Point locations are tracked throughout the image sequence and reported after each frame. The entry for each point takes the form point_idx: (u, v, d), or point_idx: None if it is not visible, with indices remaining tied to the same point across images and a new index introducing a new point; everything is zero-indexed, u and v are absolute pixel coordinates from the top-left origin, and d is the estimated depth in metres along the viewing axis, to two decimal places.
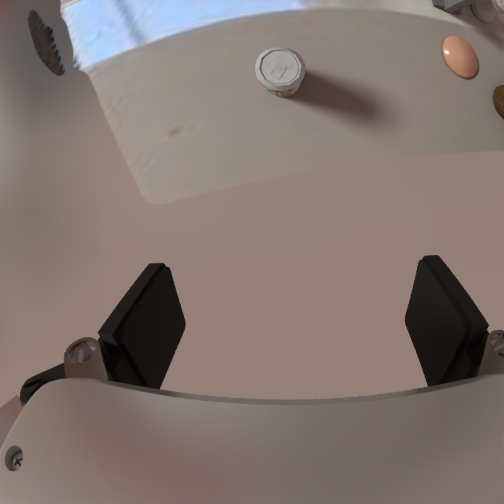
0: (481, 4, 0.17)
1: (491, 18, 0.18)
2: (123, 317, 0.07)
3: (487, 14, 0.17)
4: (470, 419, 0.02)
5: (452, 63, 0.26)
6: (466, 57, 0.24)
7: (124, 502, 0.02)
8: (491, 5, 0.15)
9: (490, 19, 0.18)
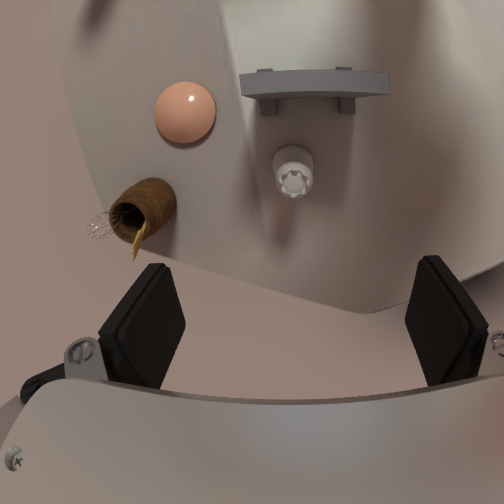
0: (294, 154, 0.26)
1: None
2: (123, 317, 0.07)
3: (278, 164, 0.27)
4: (470, 419, 0.02)
5: (166, 98, 0.26)
6: (185, 121, 0.27)
7: (124, 502, 0.02)
8: (288, 162, 0.24)
9: (275, 174, 0.28)
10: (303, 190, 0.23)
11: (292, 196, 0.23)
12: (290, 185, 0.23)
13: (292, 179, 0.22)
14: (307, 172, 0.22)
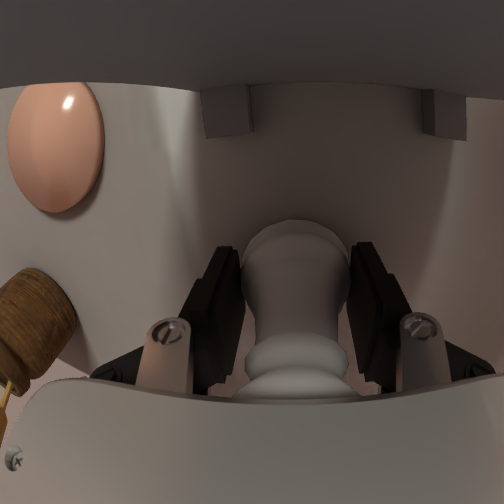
0: (301, 264, 0.09)
1: None
2: (211, 295, 0.08)
3: (253, 290, 0.09)
4: (470, 419, 0.02)
5: (18, 117, 0.09)
6: (49, 164, 0.10)
7: (124, 502, 0.02)
8: (281, 326, 0.07)
9: None
10: None
11: None
12: None
13: None
14: None
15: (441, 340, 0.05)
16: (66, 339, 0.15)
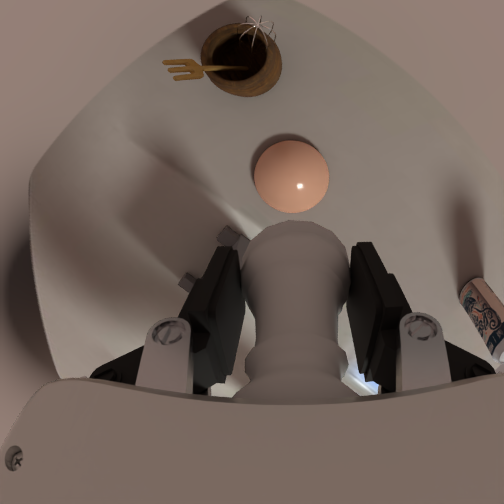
0: (301, 265, 0.09)
1: None
2: (211, 295, 0.08)
3: (253, 291, 0.10)
4: (470, 419, 0.02)
5: (320, 178, 0.25)
6: (282, 171, 0.25)
7: (124, 502, 0.02)
8: (281, 327, 0.07)
9: None
10: None
11: None
12: None
13: None
14: None
15: (441, 340, 0.05)
16: None
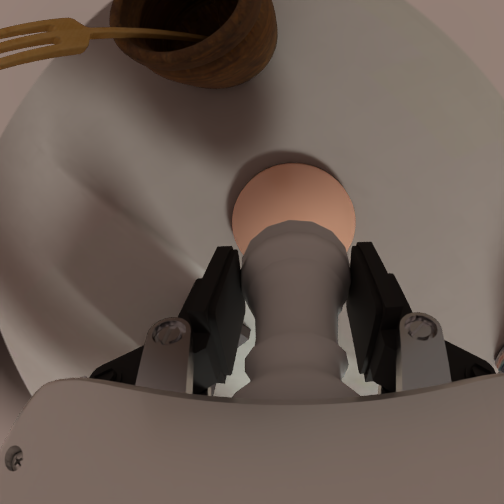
0: (301, 265, 0.09)
1: None
2: (211, 295, 0.08)
3: (253, 291, 0.10)
4: (470, 419, 0.02)
5: (341, 228, 0.15)
6: (278, 216, 0.16)
7: (124, 502, 0.02)
8: (281, 327, 0.07)
9: None
10: None
11: None
12: None
13: None
14: None
15: (441, 340, 0.05)
16: None
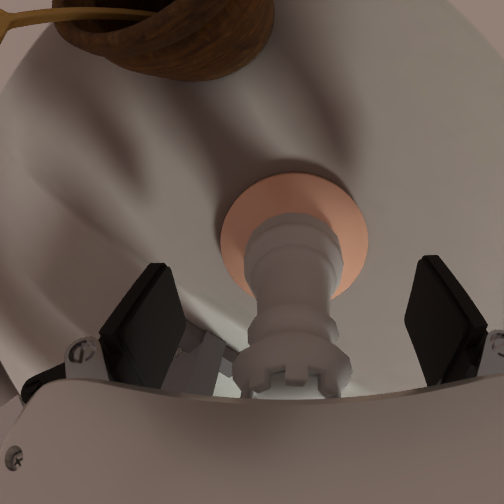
0: (297, 250, 0.10)
1: None
2: (123, 317, 0.07)
3: (255, 274, 0.11)
4: (470, 419, 0.02)
5: (351, 251, 0.13)
6: None
7: (124, 502, 0.02)
8: (279, 300, 0.08)
9: None
10: None
11: None
12: None
13: (285, 391, 0.06)
14: (337, 368, 0.06)
15: None
16: None
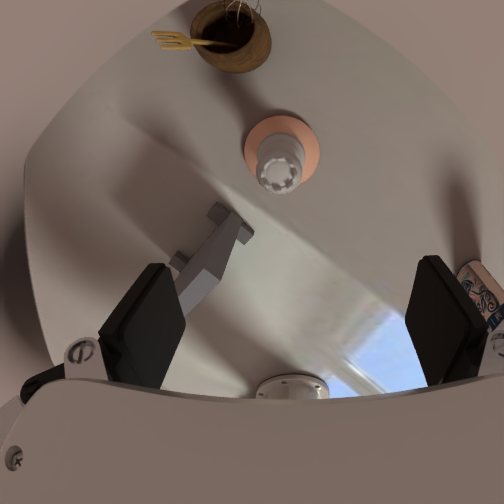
0: (281, 142, 0.22)
1: None
2: (123, 317, 0.07)
3: (263, 154, 0.23)
4: (470, 419, 0.02)
5: (311, 153, 0.25)
6: None
7: (124, 502, 0.02)
8: None
9: None
10: (290, 183, 0.19)
11: (276, 190, 0.19)
12: (274, 177, 0.19)
13: (276, 170, 0.18)
14: (294, 161, 0.18)
15: None
16: None
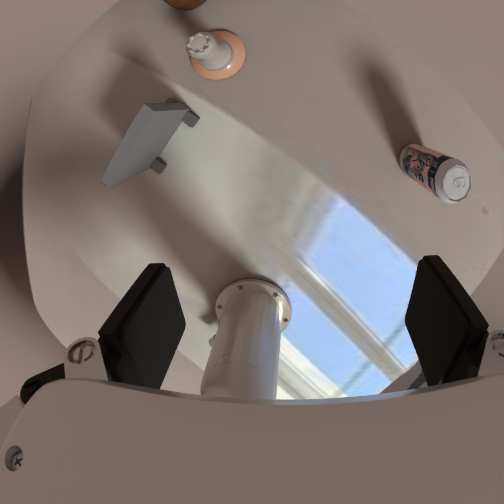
0: None
1: (200, 60, 0.27)
2: (123, 317, 0.07)
3: None
4: (470, 419, 0.02)
5: (239, 52, 0.28)
6: None
7: (124, 502, 0.02)
8: None
9: (199, 60, 0.28)
10: (206, 47, 0.22)
11: (197, 52, 0.22)
12: (196, 46, 0.22)
13: (197, 41, 0.22)
14: (210, 35, 0.22)
15: None
16: None
